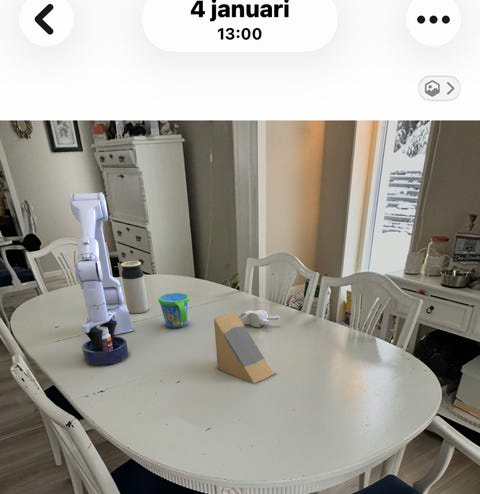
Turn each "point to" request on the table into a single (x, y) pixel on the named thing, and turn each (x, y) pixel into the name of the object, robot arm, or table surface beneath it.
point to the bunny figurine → (257, 318)
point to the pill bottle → (106, 339)
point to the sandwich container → (238, 350)
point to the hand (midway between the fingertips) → (104, 347)
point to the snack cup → (174, 309)
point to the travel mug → (134, 287)
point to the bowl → (105, 352)
